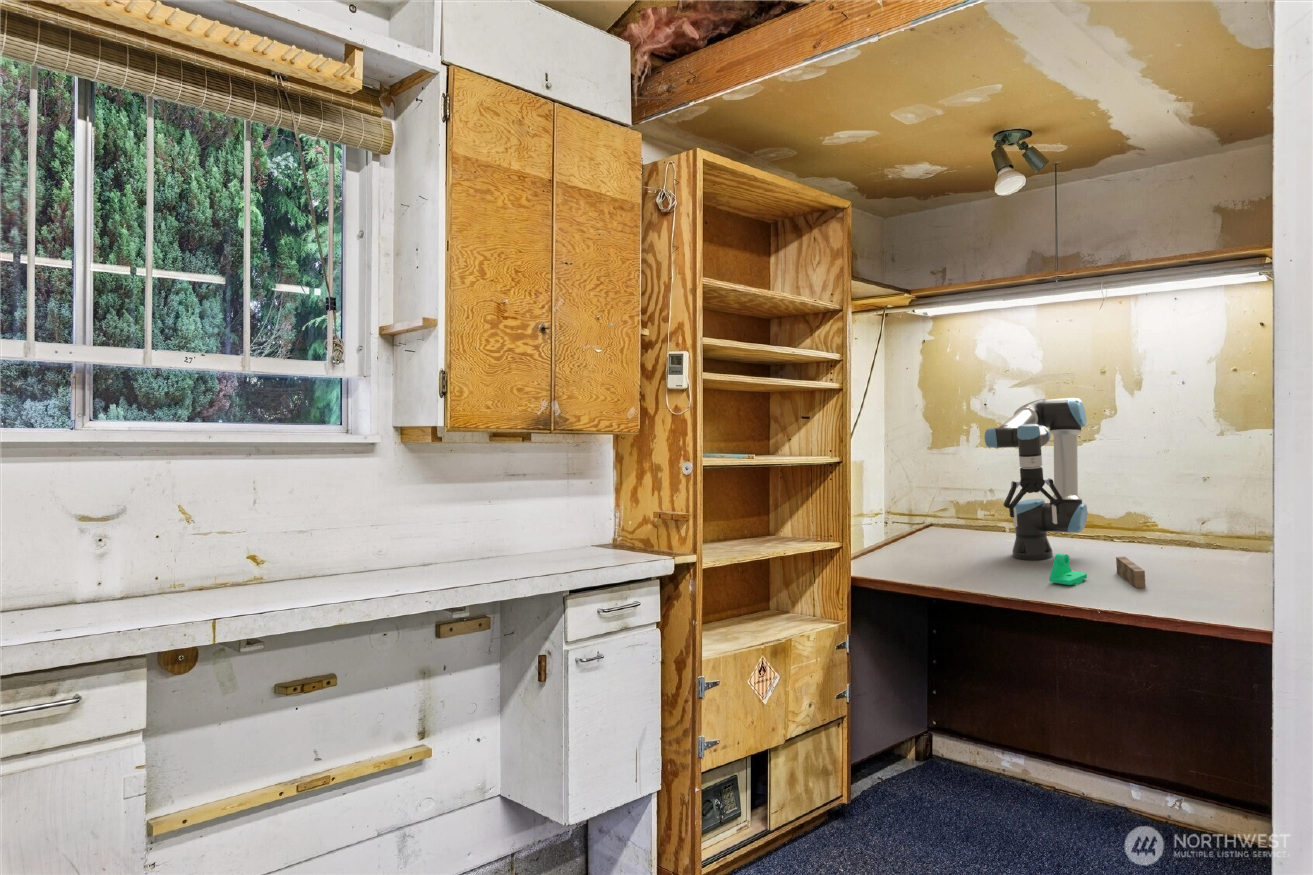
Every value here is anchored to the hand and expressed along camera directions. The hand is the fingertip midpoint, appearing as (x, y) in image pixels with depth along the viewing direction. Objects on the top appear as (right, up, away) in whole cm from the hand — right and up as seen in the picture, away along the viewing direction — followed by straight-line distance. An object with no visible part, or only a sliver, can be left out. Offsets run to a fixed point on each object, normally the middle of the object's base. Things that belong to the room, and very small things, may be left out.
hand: (1035, 524), depth 302 cm
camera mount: (+13, -21, +1) cm, 25 cm away
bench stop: (+32, -19, -4) cm, 38 cm away
